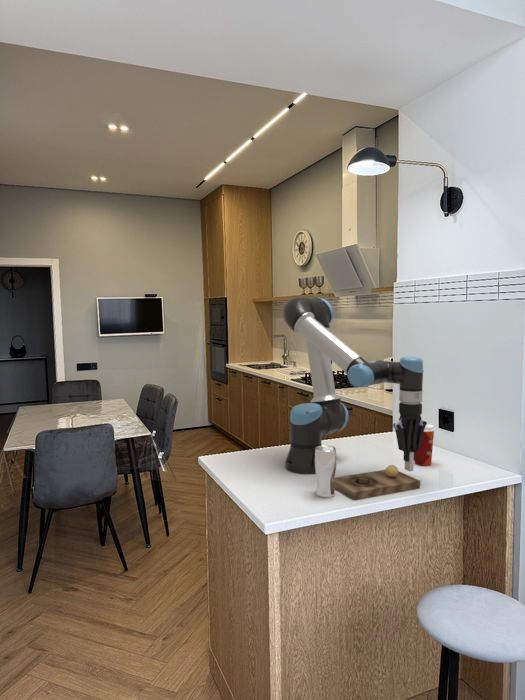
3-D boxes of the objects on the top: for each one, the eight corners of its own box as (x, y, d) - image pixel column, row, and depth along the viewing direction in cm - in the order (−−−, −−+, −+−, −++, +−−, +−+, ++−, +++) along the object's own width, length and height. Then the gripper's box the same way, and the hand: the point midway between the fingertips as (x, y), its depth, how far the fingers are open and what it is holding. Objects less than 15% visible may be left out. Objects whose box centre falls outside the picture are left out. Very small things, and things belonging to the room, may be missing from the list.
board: (353, 500, 152) (353, 492, 151) (330, 485, 164) (330, 478, 164) (419, 488, 162) (420, 480, 162) (392, 475, 175) (392, 468, 175)
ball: (385, 477, 165) (385, 466, 164) (386, 474, 168) (386, 462, 168) (397, 479, 163) (397, 467, 163) (398, 475, 167) (398, 464, 167)
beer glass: (321, 488, 162) (322, 444, 161) (340, 493, 157) (340, 447, 156) (310, 494, 156) (310, 448, 155) (328, 499, 152) (329, 452, 151)
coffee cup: (435, 467, 183) (436, 428, 182) (412, 466, 185) (413, 427, 184) (432, 461, 191) (433, 423, 190) (410, 459, 193) (411, 422, 192)
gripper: (402, 405, 161) (401, 476, 163) (433, 402, 166) (431, 470, 168) (388, 401, 168) (386, 469, 169) (417, 399, 173) (416, 464, 175)
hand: (408, 470), depth 169 cm, fingers closed
